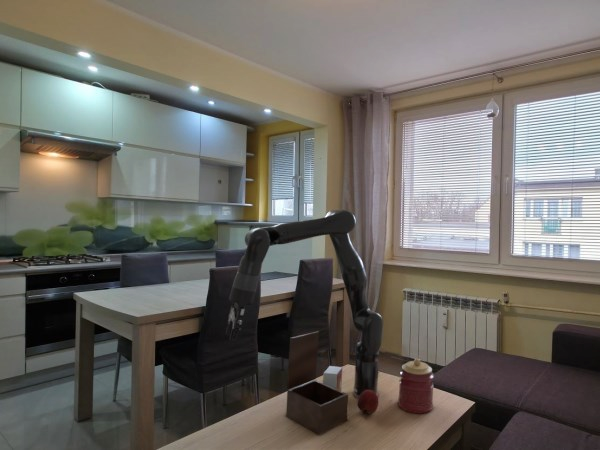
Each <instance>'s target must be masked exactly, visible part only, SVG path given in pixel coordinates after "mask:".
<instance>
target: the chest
mask: <svg viewBox="0 0 600 450" xmlns="http://www.w3.org/2000/svg"><path fill="white" fill-rule="evenodd" d="M286 394H287V395H286V414H285V416H286V417H287V418H289V419H290V420H292V421H294V422H296V423H298V424H300V425H301V426H303V427H305V428H307V429H309V430H310V431H312V432H314V433H315V434H317V435H322V434H324V433H326V432H327V431H330V430H331V429H333V428H336V427H337V426H339V425H341V424H342V423H344V422H346V421H348V407H349V405H348V404H349V394H348V393H347V392H344V391H342V390H341V391H339V390H337V389H335V388H332V387H330V386H328V385H325V384H323V382H321V381H318V380H316V379H314V380H312V381H309V382H306V383H304V384H301V385H298V386H296V387H293V388H290V389H287V393H286Z"/></svg>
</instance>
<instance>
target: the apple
mask: <svg viewBox="0 0 600 450" xmlns="http://www.w3.org/2000/svg"><path fill="white" fill-rule="evenodd" d="M356 402H357V403H356V405H357V408H358V409H359V410H360V411H361V412H362V414H368V415H372V414H374V413H375V412H376V411H377V409H378V406H379V396H378V394H377V395H376V393H375V392H374V391H372V390H365V391H363V392H362V393H361V395H360V396H359V398H357V400H356Z"/></svg>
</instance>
